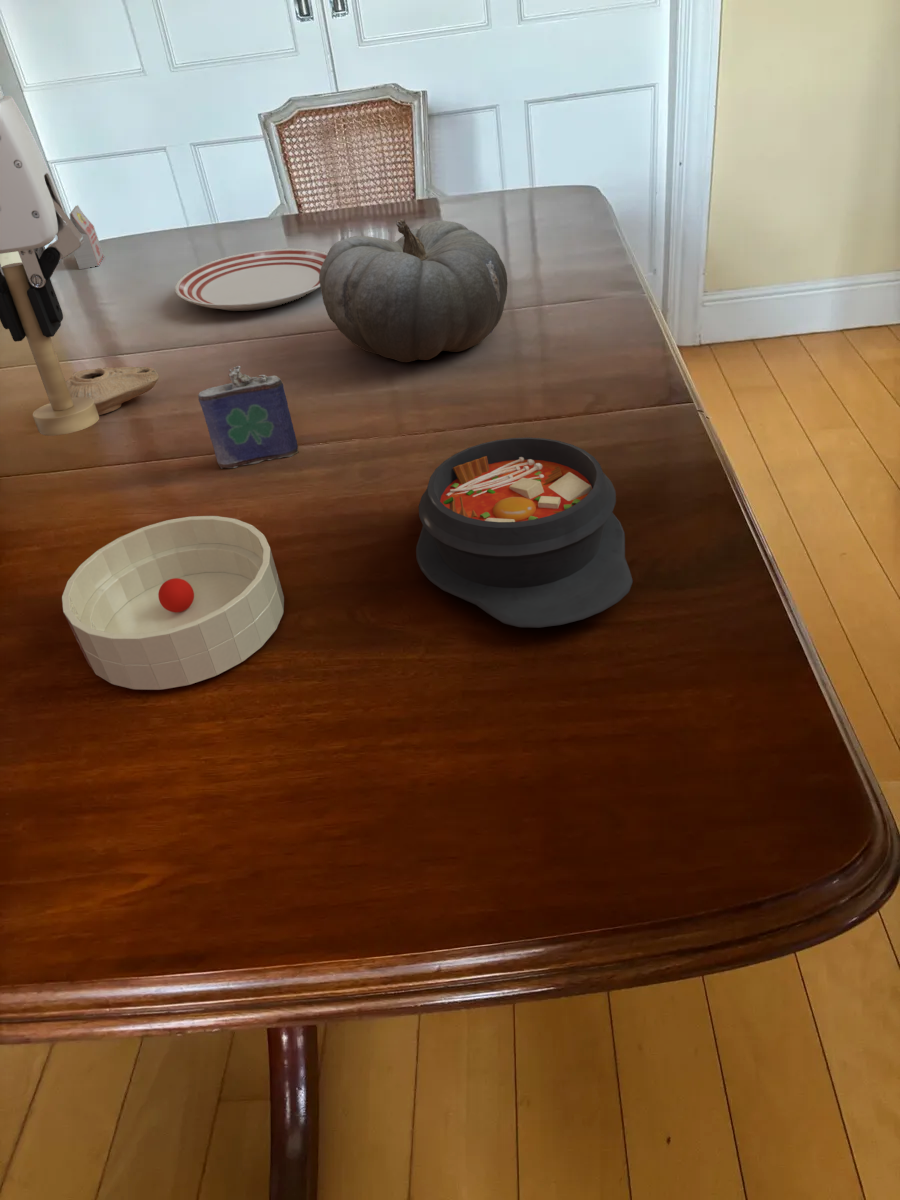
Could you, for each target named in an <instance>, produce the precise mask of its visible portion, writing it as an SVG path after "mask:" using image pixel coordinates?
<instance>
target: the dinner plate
mask: <svg viewBox="0 0 900 1200" xmlns="http://www.w3.org/2000/svg"><path fill="white" fill-rule="evenodd" d="M327 254H328V252H326V251H321V250H318V249H309V248H272V249H263V250H262V249H261V250H257V251H255V250H254V251H248V252H244V253H239V254H238V253H237V254H233V255H228V256H225V257H221V258H219V259H215V260H211V261H208V262H206V263H203V264H201V265H199V266H197V267H195V268H193V269H192V270H190V271H188V272H187V273H185V274H184V275H182V277H180V278H179V279H178V281H177V282H176V283H175V286H174V291H175V294H176V296H177V297H179V298H180V299H182V300H183V301H185V302H188V303H191V304H194V305H197V306H199V307H205V308H209V309H217V310H223V311H231V312H248V311H249V312H250V311H258V310H265V309H270V308H276V307H280V306H282V304H283V305H286V304H289V303H292V302H295V301H297V300H299V298H300V299H301V297H302V298H304V297H305V296H307V295H308V294H310V293H312V292H314V291H315V290H318V289H319V288H321V286H320V281H319V274H320V270H321V267H322V264H323V262H324V260H325V258H326V256H327ZM306 294H307V295H306ZM296 299H297V300H296ZM294 300H295V301H294ZM291 301H292V302H291ZM288 302H289V303H288ZM285 303H286V304H285Z"/></svg>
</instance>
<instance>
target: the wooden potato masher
mask: <svg viewBox="0 0 900 1200" xmlns="http://www.w3.org/2000/svg"><path fill="white" fill-rule="evenodd" d="M1 267H2V271H3V273H4V276H5V279H6V282H7V285H8V287H9V290H10V293H11V296H12V298H13V301H14V304H15V307H16V310H17V312H18V315H19V318H20V321H21V323H22V326H23V329H24V332H25V335H26V336H25V338H26V341H27V342H28V346H29V349H30V351H31V354H32V356H33V359H34V362H35V366H36V368H37V370H38V373H39V376H40V379H41V382H42V384H43V388H44V390H45V392H46V395H47V397H48V401H49V403H47V404H44V405H42V406H40V407H38V408H37V409H35V410H34V411H33V413H32V417H33V418H32V419H33V421H34V423H35V426H36V428H37V432H38V433H39V434H40V435H43V436H49V437H55V436H57V437H58V436H64V435H68V434H74V433H77V432H80V431H83V430H85V429H88V428H90V427H92V426H93V425H96V423H97V422H98V421H99V420H100V415H98V412H97V409H96V406H95V403H94V401H93V399H91V398H86V397H75V398H71V395H70V392H69V389H68V387H67V384H66V381H67V380H66V379H65V374H64V372H63V370H62V366H61V363H60V361H59V358H58V355H57V352H56V349H55V346H54V344H53V341H52V338H51V337H46V336H43V334H42V331H41V329H40V326H39V324H38V321H37V318H36V316H35V313H34V311H33V308H32V306H31V303H30V300H29V298H28V295H27V290H28V289H29V288H30V285H29V282H28V276H27V274H26V271H25V269H24V266H23V263H22V262H14V263H9V264H5V265H3V266H1Z"/></svg>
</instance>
